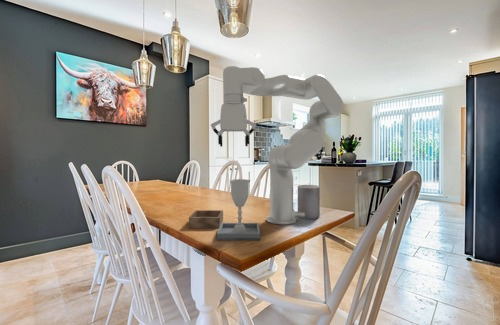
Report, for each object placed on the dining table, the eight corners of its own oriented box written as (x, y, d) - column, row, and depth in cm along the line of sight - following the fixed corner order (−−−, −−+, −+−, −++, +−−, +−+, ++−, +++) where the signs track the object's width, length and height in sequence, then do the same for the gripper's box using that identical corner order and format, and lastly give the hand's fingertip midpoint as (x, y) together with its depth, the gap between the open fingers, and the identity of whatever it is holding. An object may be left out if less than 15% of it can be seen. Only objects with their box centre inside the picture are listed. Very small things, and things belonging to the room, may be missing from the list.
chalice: (251, 229, 86) (251, 179, 85) (249, 235, 79) (249, 181, 78) (231, 228, 87) (231, 179, 86) (227, 234, 80) (227, 181, 79)
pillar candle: (305, 212, 114) (305, 181, 113) (324, 216, 106) (324, 183, 106) (293, 216, 107) (292, 183, 107) (311, 220, 100) (311, 185, 99)
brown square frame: (223, 219, 101) (223, 210, 101) (219, 228, 89) (219, 217, 89) (195, 219, 101) (195, 210, 101) (188, 228, 89) (188, 217, 89)
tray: (258, 228, 89) (258, 222, 89) (260, 240, 77) (260, 233, 77) (221, 228, 89) (221, 222, 89) (216, 240, 77) (216, 233, 77)
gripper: (255, 103, 94) (255, 146, 95) (211, 103, 93) (211, 146, 94) (257, 99, 87) (257, 145, 88) (209, 98, 86) (210, 146, 86)
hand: (233, 146), depth 91 cm, fingers open, 9 cm apart
